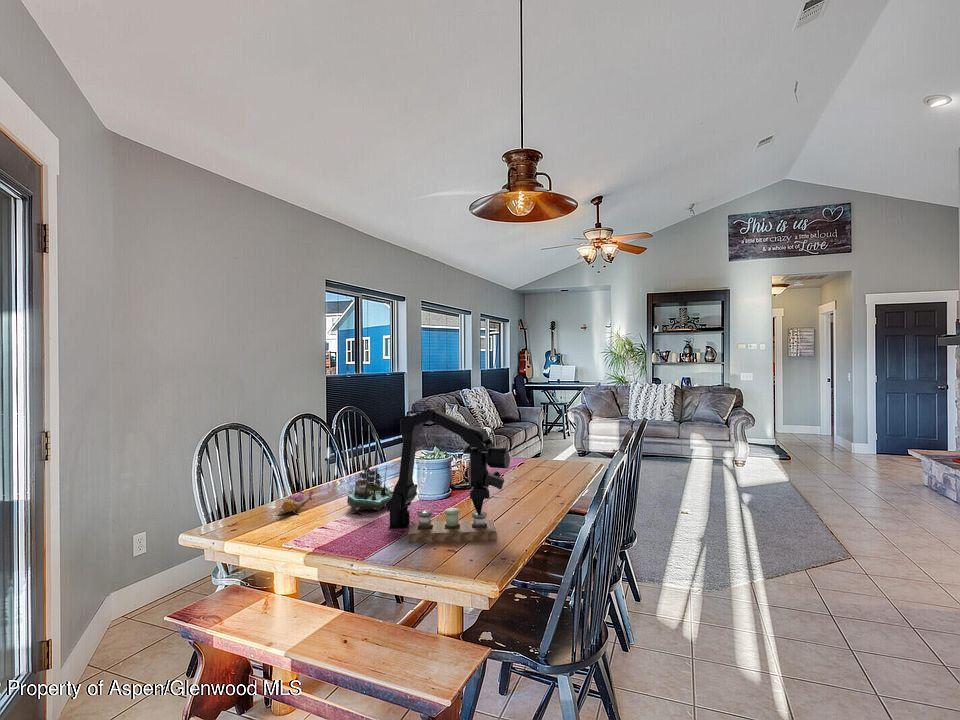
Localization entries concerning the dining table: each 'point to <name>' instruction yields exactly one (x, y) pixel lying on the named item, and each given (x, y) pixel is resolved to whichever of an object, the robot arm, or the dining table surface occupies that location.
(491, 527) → the walnut board
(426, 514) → the plunger
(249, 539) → the dining table surface
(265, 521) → the dining table surface
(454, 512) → the sage plug
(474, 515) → the plunger
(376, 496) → the diorama
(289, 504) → the figurine
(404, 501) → the robot arm
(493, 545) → the dining table surface
